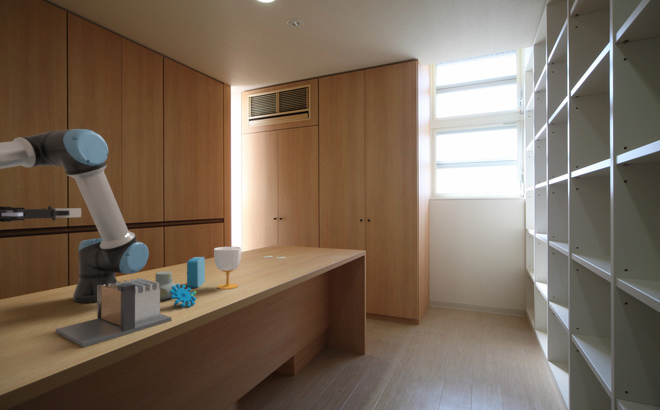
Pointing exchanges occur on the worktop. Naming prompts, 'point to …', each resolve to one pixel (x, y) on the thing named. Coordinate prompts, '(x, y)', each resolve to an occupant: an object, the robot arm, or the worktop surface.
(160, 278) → the air freshener
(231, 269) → the cup
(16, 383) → the worktop surface
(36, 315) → the worktop surface
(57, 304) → the worktop surface
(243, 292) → the worktop surface
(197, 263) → the data package
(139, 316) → the heat sink
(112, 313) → the bar
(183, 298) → the gear
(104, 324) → the cooler board
